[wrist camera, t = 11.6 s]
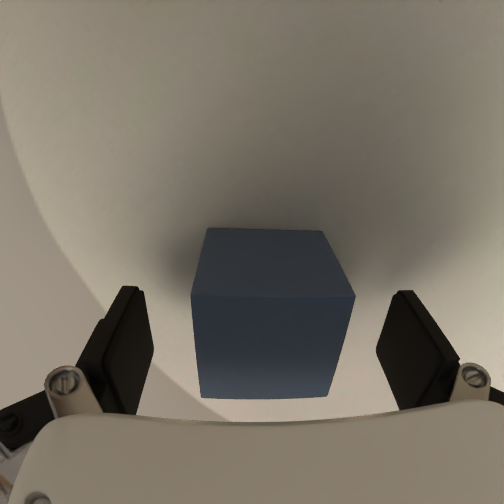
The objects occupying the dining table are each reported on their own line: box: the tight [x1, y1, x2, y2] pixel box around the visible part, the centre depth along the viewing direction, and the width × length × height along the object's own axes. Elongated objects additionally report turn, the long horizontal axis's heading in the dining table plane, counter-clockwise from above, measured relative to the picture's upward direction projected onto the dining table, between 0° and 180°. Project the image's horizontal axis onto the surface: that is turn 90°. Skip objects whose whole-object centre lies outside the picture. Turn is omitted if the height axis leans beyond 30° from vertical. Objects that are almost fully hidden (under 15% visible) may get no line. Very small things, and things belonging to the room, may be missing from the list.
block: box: [191, 228, 356, 399], centre depth 12 cm, size 5×5×5 cm
